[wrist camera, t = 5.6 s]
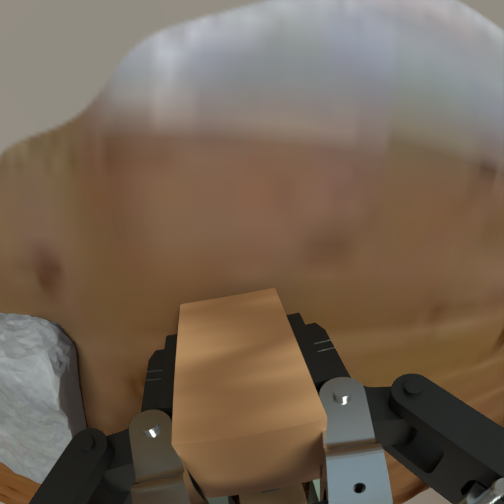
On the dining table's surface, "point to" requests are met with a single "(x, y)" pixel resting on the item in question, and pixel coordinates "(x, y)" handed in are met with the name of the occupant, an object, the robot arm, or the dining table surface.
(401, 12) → the dining table surface
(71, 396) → the stone block
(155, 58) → the dining table surface
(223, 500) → the channel
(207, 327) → the wooden cube dumbbell
